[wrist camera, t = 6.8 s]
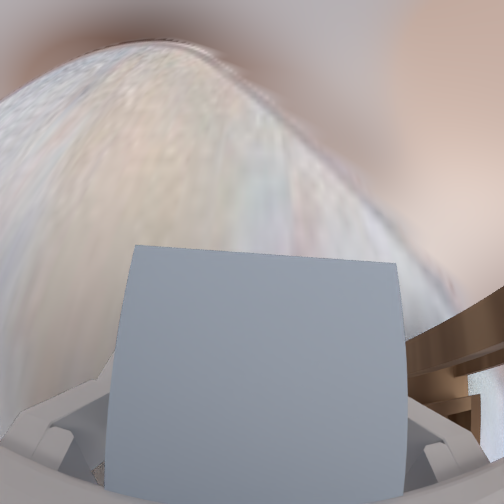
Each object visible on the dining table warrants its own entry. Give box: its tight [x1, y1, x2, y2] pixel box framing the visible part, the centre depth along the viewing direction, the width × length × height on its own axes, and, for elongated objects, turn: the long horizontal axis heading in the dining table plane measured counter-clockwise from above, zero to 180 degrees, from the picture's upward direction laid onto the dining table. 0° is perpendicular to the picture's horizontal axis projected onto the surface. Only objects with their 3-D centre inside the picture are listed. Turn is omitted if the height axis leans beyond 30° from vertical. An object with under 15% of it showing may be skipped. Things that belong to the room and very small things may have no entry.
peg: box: [104, 245, 408, 504], centre depth 8 cm, size 4×4×10 cm
